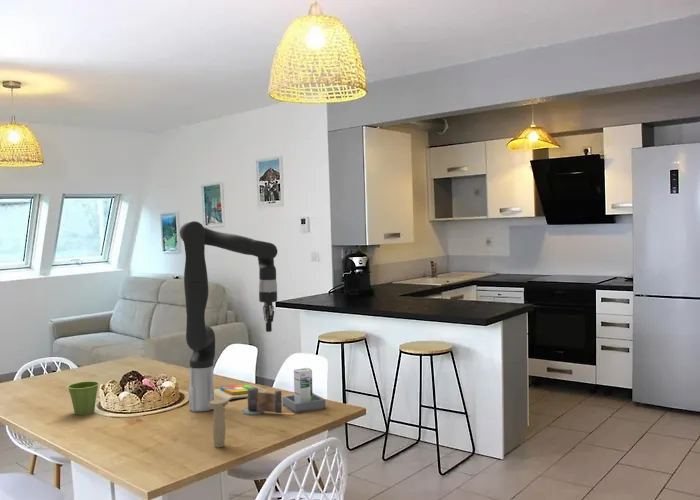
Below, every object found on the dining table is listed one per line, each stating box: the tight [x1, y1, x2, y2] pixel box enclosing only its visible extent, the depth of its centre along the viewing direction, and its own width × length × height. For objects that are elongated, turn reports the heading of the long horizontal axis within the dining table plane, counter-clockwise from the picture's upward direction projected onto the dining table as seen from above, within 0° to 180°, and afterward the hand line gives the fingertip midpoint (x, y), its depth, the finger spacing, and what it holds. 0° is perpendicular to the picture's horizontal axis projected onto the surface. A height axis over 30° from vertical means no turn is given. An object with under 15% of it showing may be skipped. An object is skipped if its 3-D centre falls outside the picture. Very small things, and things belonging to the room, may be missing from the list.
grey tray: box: [282, 392, 326, 414], centre depth 247 cm, size 13×13×4 cm
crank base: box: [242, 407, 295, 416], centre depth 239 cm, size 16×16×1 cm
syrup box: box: [293, 367, 314, 403], centre depth 247 cm, size 6×6×14 cm
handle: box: [209, 398, 229, 448], centre depth 202 cm, size 5×6×15 cm
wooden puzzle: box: [214, 383, 267, 402], centre depth 268 cm, size 18×19×4 cm
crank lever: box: [247, 388, 283, 414], centre depth 239 cm, size 14×4×8 cm, turn 69°
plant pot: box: [66, 380, 100, 416], centre depth 242 cm, size 12×12×11 cm
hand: (268, 331), depth 257 cm, fingers closed
